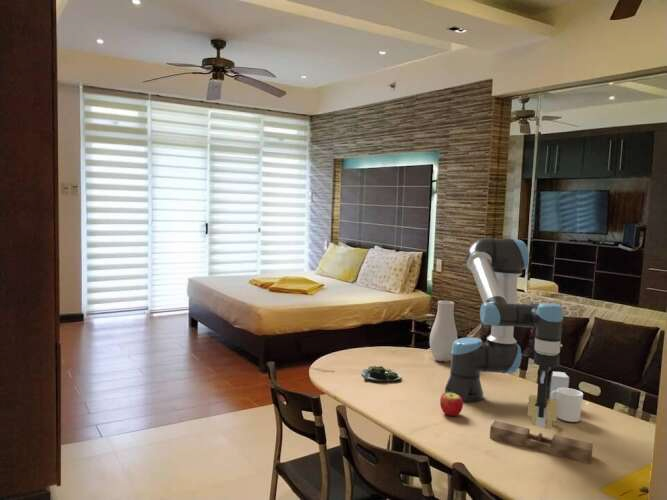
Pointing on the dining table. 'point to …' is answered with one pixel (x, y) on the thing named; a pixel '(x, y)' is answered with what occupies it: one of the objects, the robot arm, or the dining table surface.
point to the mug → (568, 404)
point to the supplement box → (558, 382)
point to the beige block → (550, 413)
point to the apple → (451, 403)
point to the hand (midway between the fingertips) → (541, 424)
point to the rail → (542, 442)
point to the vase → (443, 332)
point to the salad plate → (380, 375)
